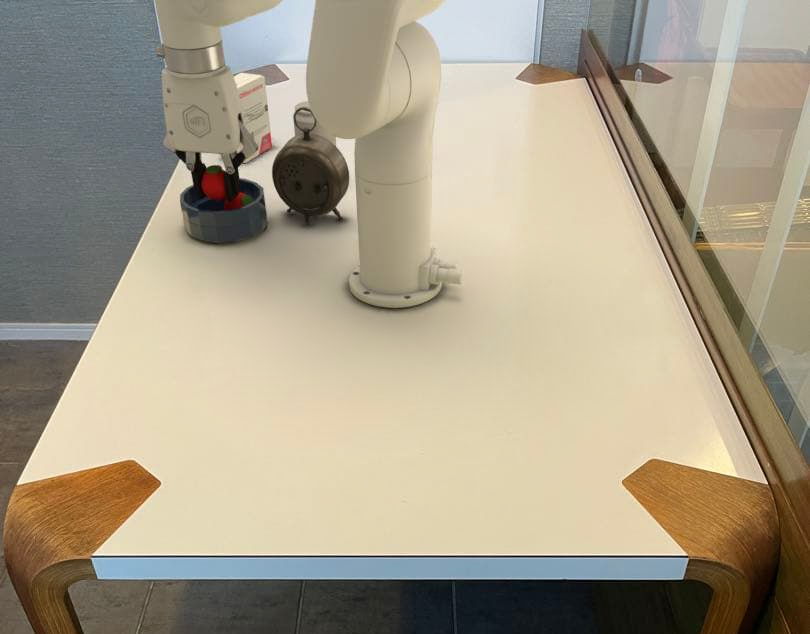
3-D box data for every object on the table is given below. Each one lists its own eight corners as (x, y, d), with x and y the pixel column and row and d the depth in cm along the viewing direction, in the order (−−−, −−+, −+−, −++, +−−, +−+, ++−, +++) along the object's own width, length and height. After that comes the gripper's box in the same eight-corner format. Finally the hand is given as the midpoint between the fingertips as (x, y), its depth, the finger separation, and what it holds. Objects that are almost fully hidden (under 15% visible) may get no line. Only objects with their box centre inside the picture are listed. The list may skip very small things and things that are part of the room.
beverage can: (292, 187, 139) (284, 109, 131) (313, 173, 143) (306, 96, 135) (325, 194, 137) (319, 115, 129) (345, 180, 141) (341, 102, 133)
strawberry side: (238, 194, 126) (234, 163, 123) (228, 206, 123) (222, 175, 120) (210, 192, 127) (205, 160, 123) (199, 204, 124) (193, 172, 120)
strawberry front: (246, 214, 131) (264, 203, 128) (236, 234, 129) (254, 223, 126) (224, 193, 129) (242, 180, 126) (214, 213, 127) (231, 201, 124)
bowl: (278, 213, 133) (274, 181, 129) (251, 249, 124) (246, 216, 121) (205, 206, 135) (199, 174, 131) (173, 241, 126) (166, 208, 123)
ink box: (250, 142, 153) (241, 70, 145) (273, 147, 152) (265, 74, 143) (222, 159, 148) (210, 85, 140) (245, 164, 146) (235, 89, 138)
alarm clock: (352, 216, 131) (346, 104, 120) (340, 232, 128) (333, 117, 116) (286, 208, 134) (274, 97, 122) (273, 223, 130) (259, 110, 119)
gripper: (123, 62, 110) (154, 202, 123) (245, 69, 108) (264, 212, 120) (148, 45, 116) (176, 182, 128) (265, 52, 113) (281, 190, 126)
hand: (218, 195), depth 124 cm, fingers closed on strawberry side, 3 cm apart
